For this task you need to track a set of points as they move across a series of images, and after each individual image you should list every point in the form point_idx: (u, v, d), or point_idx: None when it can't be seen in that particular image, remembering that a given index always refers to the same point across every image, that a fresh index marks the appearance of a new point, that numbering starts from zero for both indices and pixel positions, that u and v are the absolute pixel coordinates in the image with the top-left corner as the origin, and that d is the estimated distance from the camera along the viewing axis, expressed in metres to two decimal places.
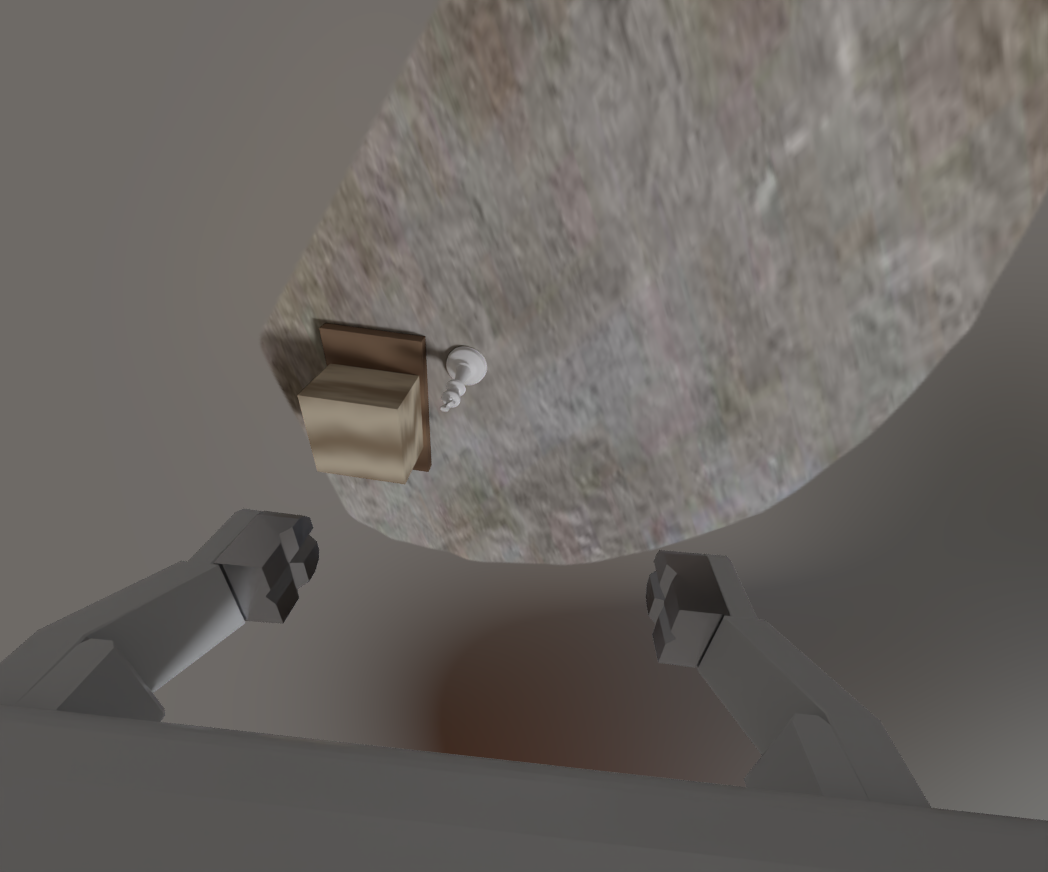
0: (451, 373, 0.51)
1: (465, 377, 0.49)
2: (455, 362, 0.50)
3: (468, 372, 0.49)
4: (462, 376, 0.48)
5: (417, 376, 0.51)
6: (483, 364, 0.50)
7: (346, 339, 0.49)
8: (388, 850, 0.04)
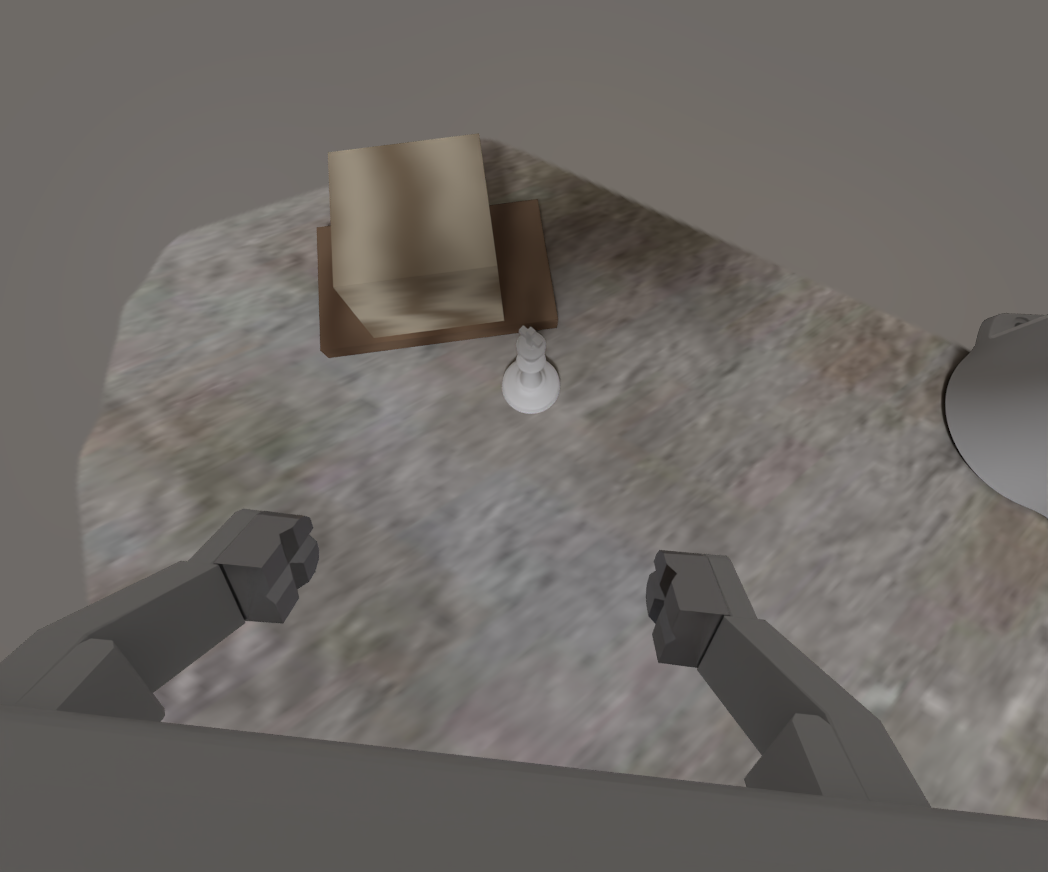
0: (518, 365, 0.35)
1: (535, 378, 0.33)
2: None
3: (536, 383, 0.33)
4: (538, 372, 0.32)
5: (503, 318, 0.35)
6: (544, 406, 0.35)
7: (531, 229, 0.38)
8: (388, 850, 0.04)
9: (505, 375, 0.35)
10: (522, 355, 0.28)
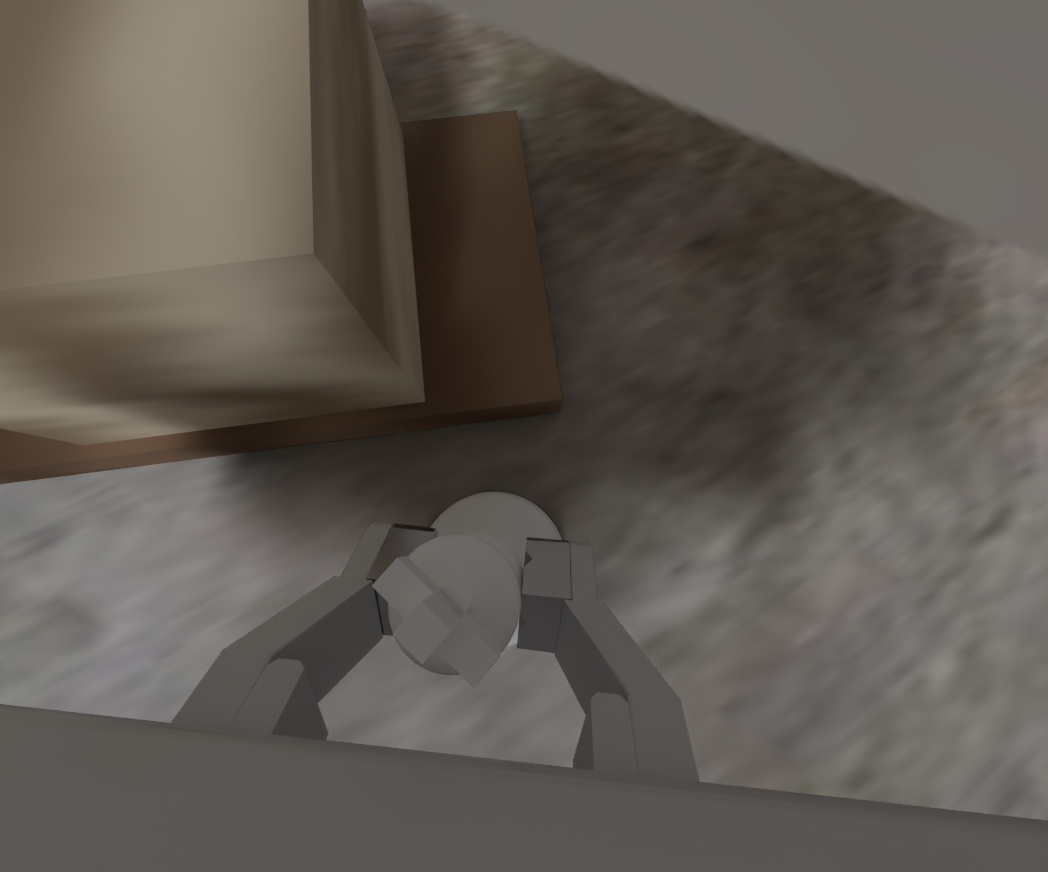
0: (458, 520, 0.14)
1: None
2: (509, 526, 0.13)
3: None
4: None
5: (423, 395, 0.14)
6: None
7: (500, 177, 0.16)
8: (388, 850, 0.04)
9: None
10: (412, 658, 0.06)
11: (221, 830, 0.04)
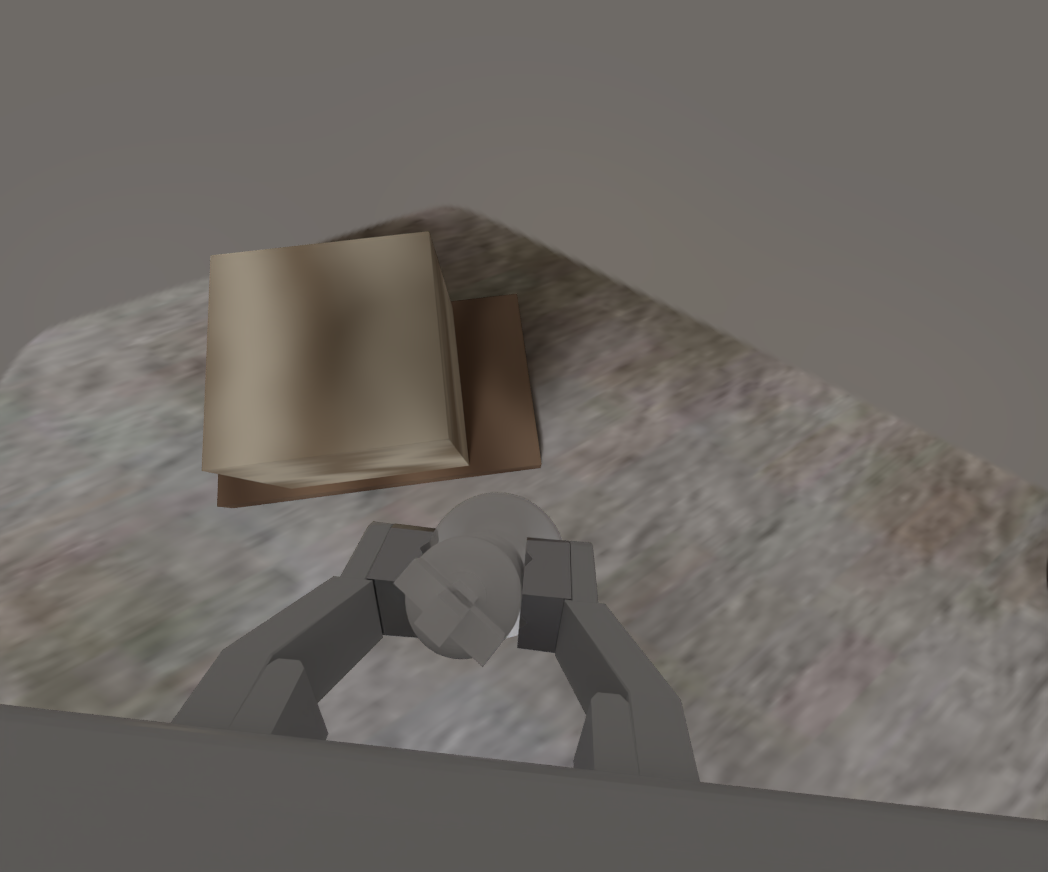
0: (463, 520, 0.14)
1: None
2: (510, 524, 0.14)
3: None
4: None
5: (468, 462, 0.26)
6: None
7: (508, 335, 0.28)
8: (388, 850, 0.04)
9: None
10: (428, 645, 0.07)
11: (221, 830, 0.04)
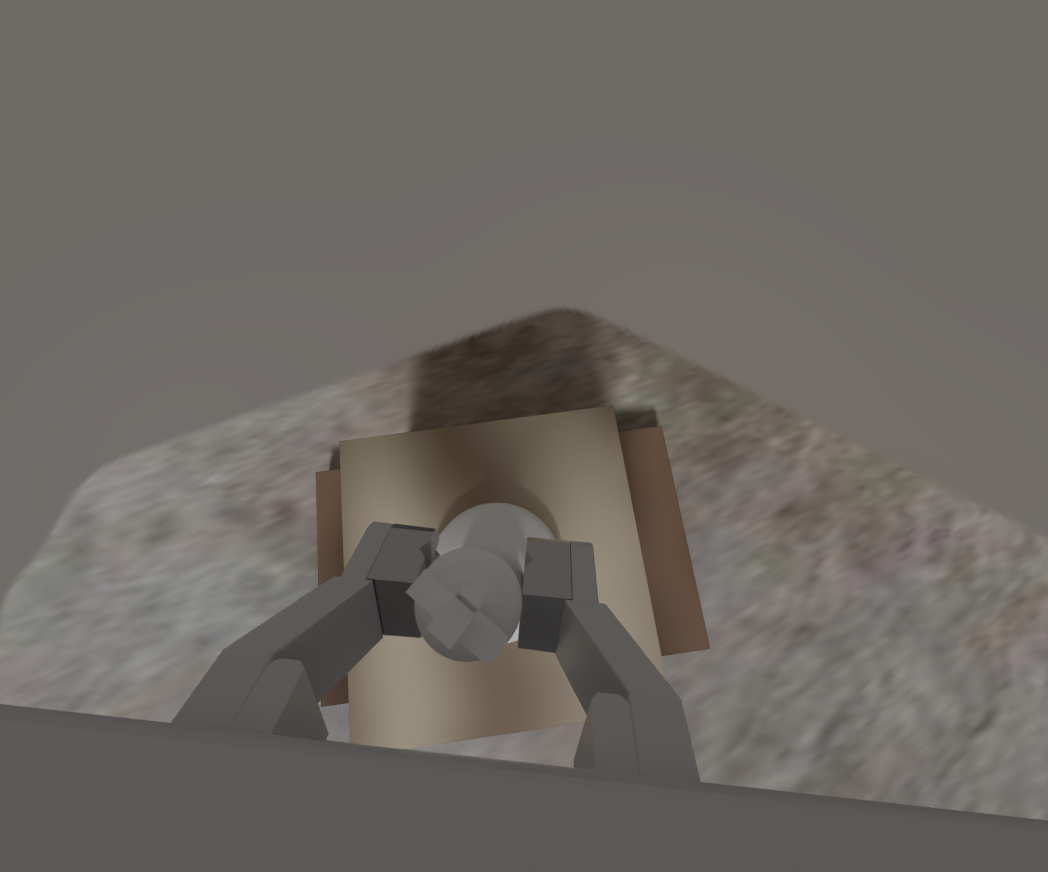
0: (463, 529, 0.15)
1: None
2: (509, 534, 0.15)
3: None
4: None
5: None
6: None
7: (655, 480, 0.24)
8: (388, 850, 0.04)
9: None
10: (436, 649, 0.08)
11: (221, 830, 0.04)
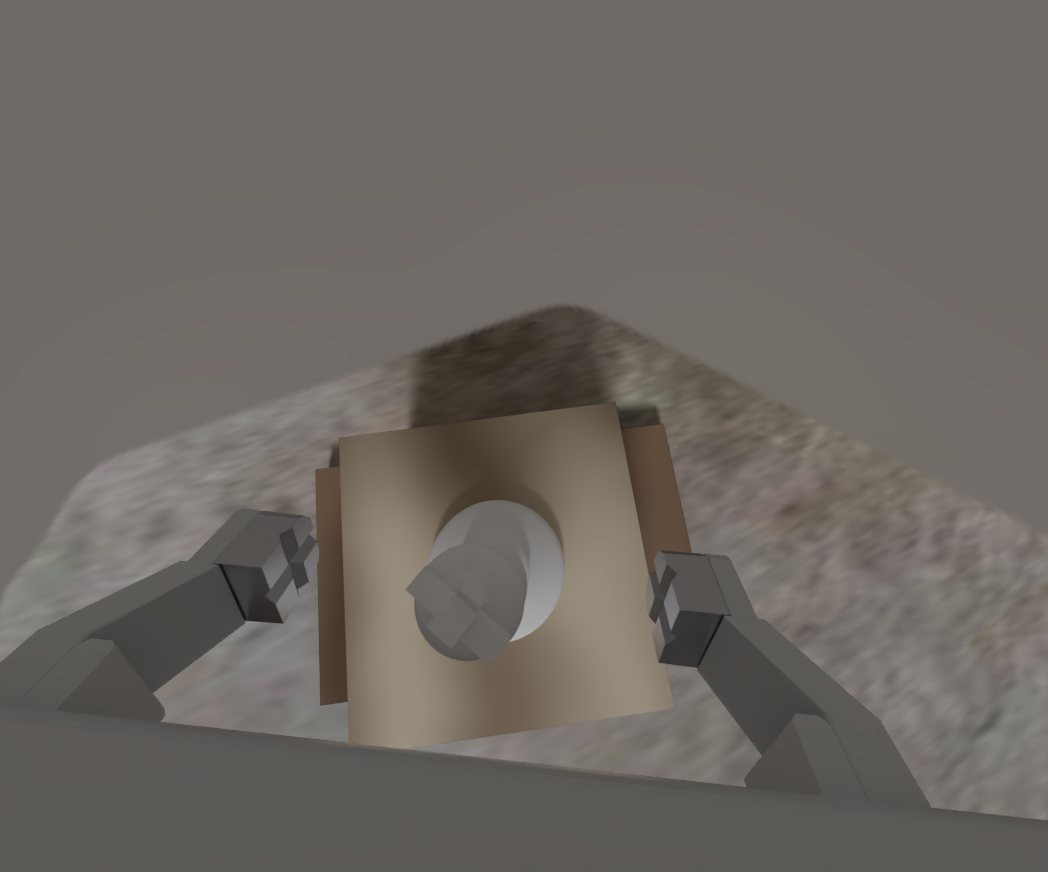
0: (464, 527, 0.15)
1: None
2: (510, 531, 0.15)
3: None
4: None
5: None
6: (528, 631, 0.14)
7: (657, 478, 0.24)
8: (388, 850, 0.04)
9: (434, 552, 0.15)
10: (436, 648, 0.07)
11: (221, 830, 0.04)
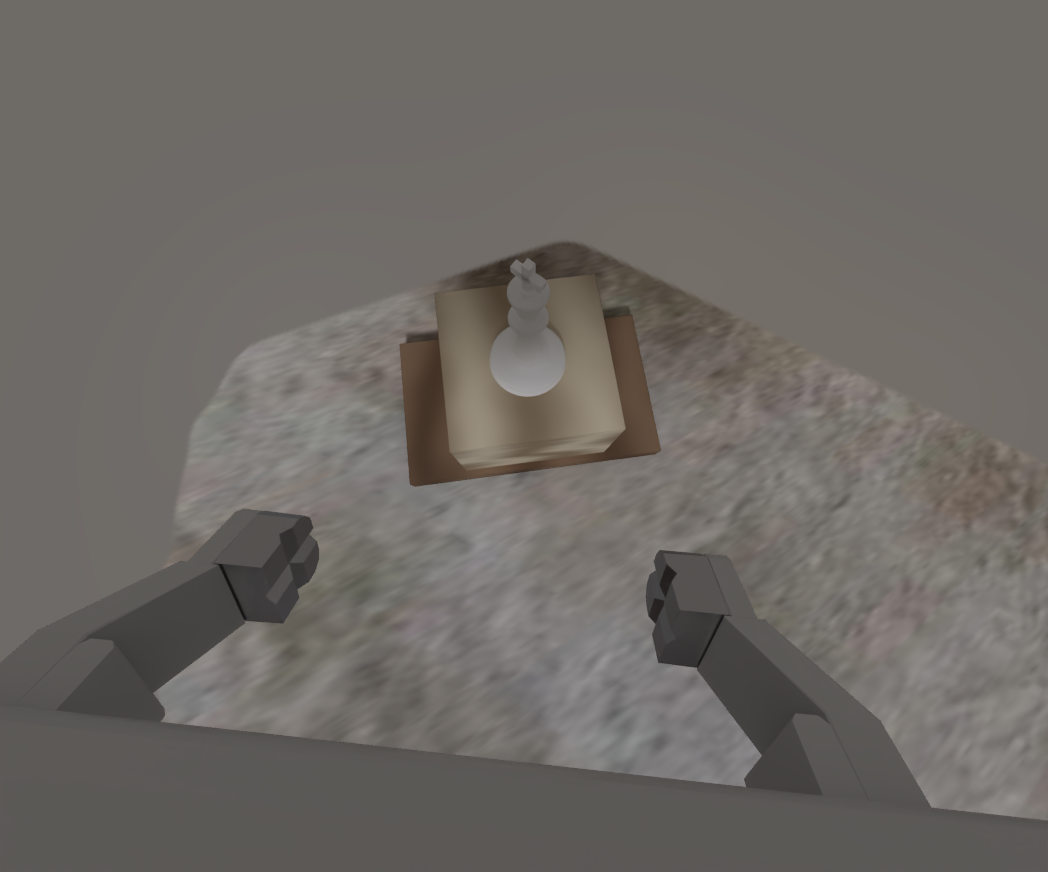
0: (510, 333, 0.27)
1: (533, 346, 0.24)
2: None
3: (535, 353, 0.25)
4: (537, 337, 0.24)
5: (604, 449, 0.33)
6: (546, 385, 0.26)
7: (627, 349, 0.36)
8: (388, 850, 0.04)
9: (493, 347, 0.27)
10: (516, 306, 0.19)
11: (221, 830, 0.04)
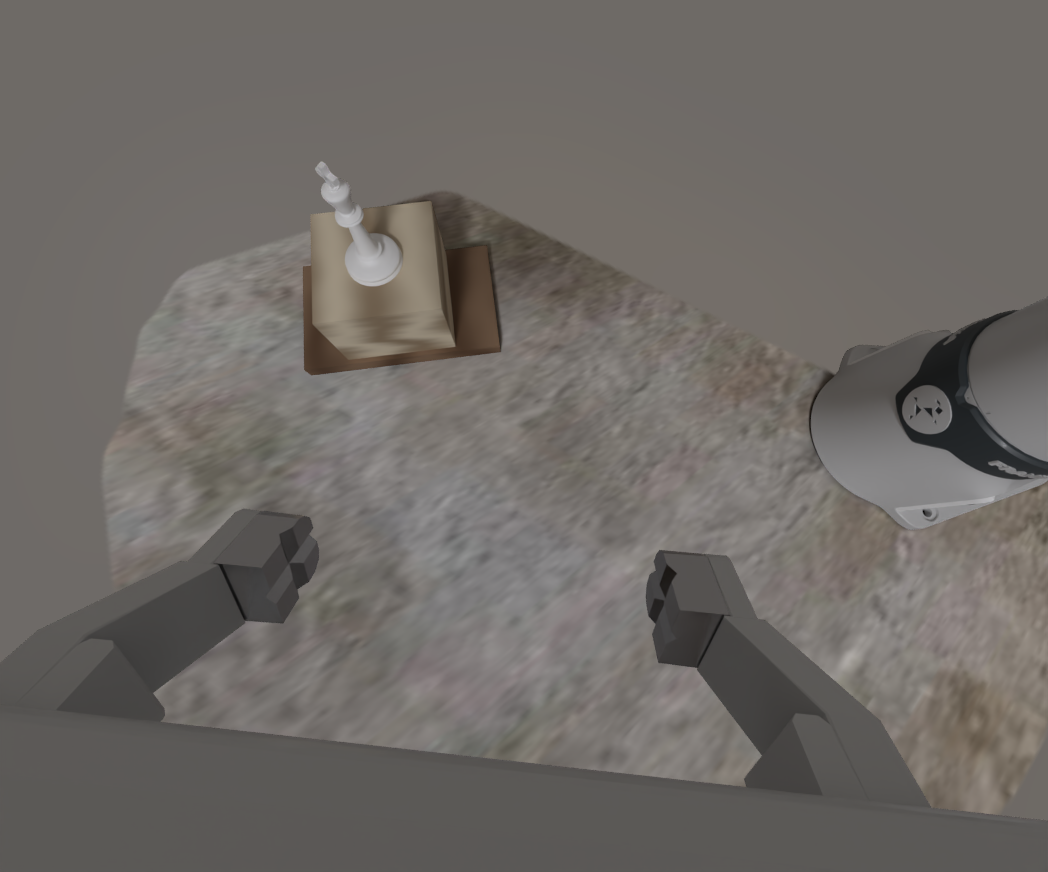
0: None
1: (364, 242, 0.34)
2: (377, 240, 0.36)
3: (369, 249, 0.35)
4: (365, 234, 0.34)
5: (455, 344, 0.43)
6: (383, 276, 0.36)
7: (480, 270, 0.46)
8: (388, 850, 0.04)
9: (347, 250, 0.37)
10: (325, 198, 0.29)
11: (221, 830, 0.04)
